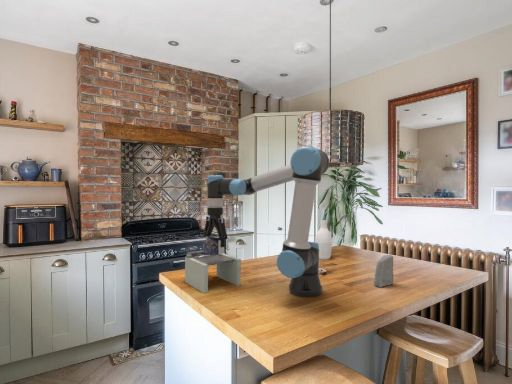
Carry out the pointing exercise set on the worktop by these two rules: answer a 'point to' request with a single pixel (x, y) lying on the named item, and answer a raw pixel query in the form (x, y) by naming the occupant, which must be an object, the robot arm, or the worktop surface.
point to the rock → (212, 246)
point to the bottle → (324, 241)
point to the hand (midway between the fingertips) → (214, 251)
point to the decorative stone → (384, 271)
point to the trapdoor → (209, 258)
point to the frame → (199, 272)
